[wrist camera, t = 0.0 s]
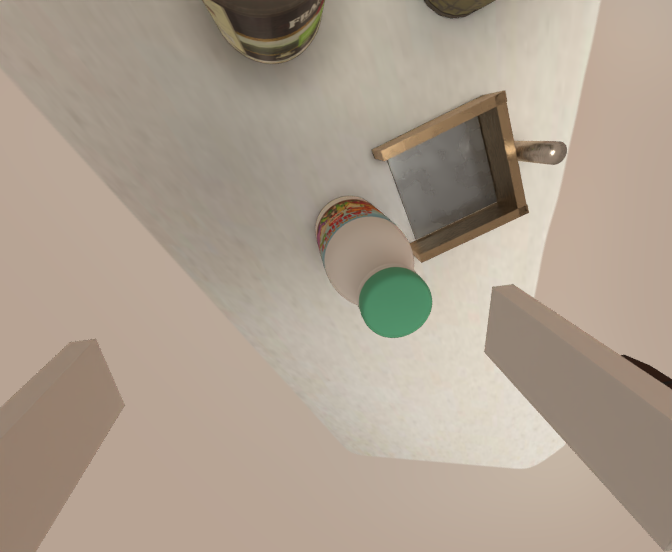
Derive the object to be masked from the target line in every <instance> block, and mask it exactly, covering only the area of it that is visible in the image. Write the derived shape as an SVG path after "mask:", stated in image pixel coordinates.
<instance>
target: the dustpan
mask: <svg viewBox="0 0 672 552" xmlns="http://www.w3.org/2000/svg"><path fill="white" fill-rule="evenodd" d="M506 102H507V98H506V92H505V91H500V92H495V93H491V94H486V95H482V96H480V97H478V98H476V99H474V100H472V101H470V102H468V103H466V104H464V105H462V106H460V107H458V108H456V109H454V110H452V111H449V112H447V113H445V114H443V115H441V116H439V117H437V118H435V119H433V120H431V121H429V122H427V123H425V124H423V125H421V126H419V127H417V128H415V129H413V130H411V131H409V132H407V133H405V134H403V135H401V136H399V137H397V138H395V139H392V140H390V141H388V142H386V143H384V144H382V145H380V146H378V147H376V148H374V149H372V152H373V155H374V158H375V159H378V160H382V161H386V160H387V161H388V164H389V167H390V169H391V172H392V175H393V178H394V180H395V183H396V186H397V189H398V191H399V194H400V197H401V200H402V203H403V205H404V208H405V211H406V214H407V216H408V219H409V222H410V225H411V227H412V230H413V233H414V236H415V238H416V241H414V242H412V243H410V246H411V249H412V252H413V255H414V256H415V257H416V258H417V259H418V260H419V261H420V262H421V263H422V262H424V261H427V260H429V259H431V258H433V257H435V256H437V255H439V254H441V253H444V252H446V251H448V250H450V249H452V248H454V247H456V246H459V245H461V244H463V243H465V242H467V241H469V240H471V239H474V238H476V237H478V236H480V235H482V234H484V233H486V232H489V231H491V230H493V229H495V228H497V227H499V226H501V225H504V224H506V223H508V222H510V221H512V220H514V219H516V218H518V217H521V216H523V215H525V214H527V213H529V211H528V205H527V204H526V200H525V195H524V190H523V185H522V180H521V174H520V169H519V164H518V161H523V162H533V163H542V164H551V165H556V164H558V163H560V162H561V161H562V160H563V159H564V158H565V156H566V153H567V147H566V145H565V144H564V143H563V142H556V141H514V139H513V134H512V129H511V123H510V118H509V113H508V108H507V103H506ZM495 202H497V203H495ZM493 203H494V204H493ZM491 204H492V205H491ZM489 205H490V206H489ZM487 206H488V207H487ZM485 207H486V208H485ZM483 208H484V209H483ZM481 209H482V210H481ZM478 210H480V211H478ZM476 211H477V212H476ZM474 212H475V213H474ZM472 213H473V214H472ZM470 214H471V215H470ZM468 215H469V216H468ZM466 216H467V217H466ZM464 217H465V218H464ZM462 218H463V219H462ZM459 219H461V220H459ZM457 220H458V221H457ZM455 221H456V222H455ZM453 222H454V223H453ZM451 223H452V224H451ZM449 224H450V225H449ZM447 225H448V226H447ZM445 226H446V227H445ZM442 227H444V228H442ZM440 228H441V229H440ZM438 229H439V230H438ZM436 230H437V231H436ZM434 231H435V232H434ZM432 232H433V233H432ZM430 233H431V234H430ZM428 234H429V235H428ZM425 235H427V236H425ZM423 236H425V237H423ZM421 237H422V238H421ZM419 238H420V239H419ZM417 239H418V240H417Z"/></svg>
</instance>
